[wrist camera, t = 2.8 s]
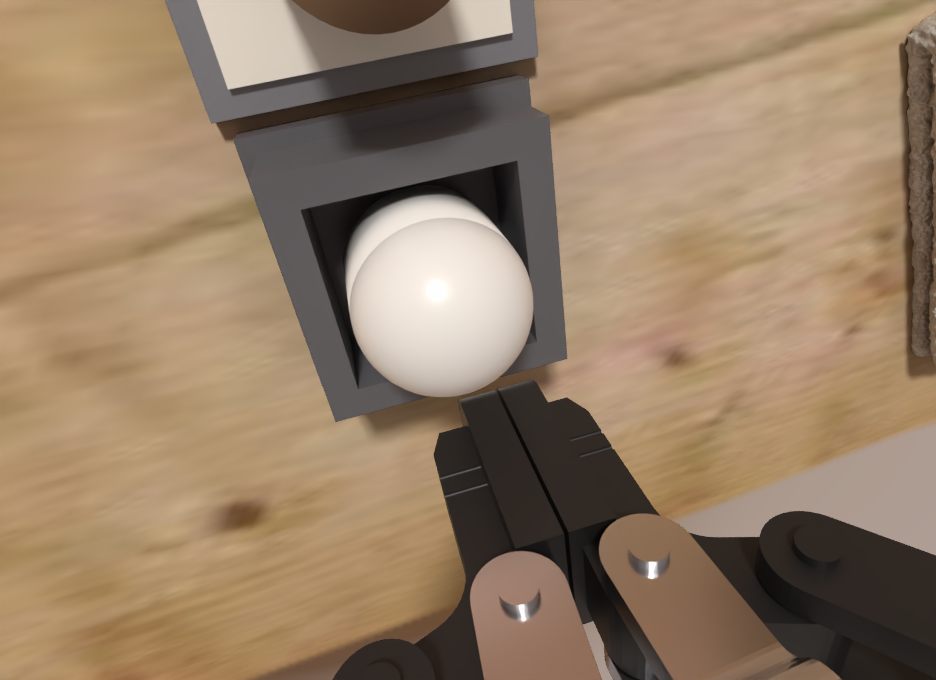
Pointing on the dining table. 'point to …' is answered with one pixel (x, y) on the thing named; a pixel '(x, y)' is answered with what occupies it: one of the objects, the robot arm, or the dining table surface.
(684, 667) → the robot arm
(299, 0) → the brown cylinder
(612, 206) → the dining table surface
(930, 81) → the washcloth
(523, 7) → the game board
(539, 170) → the button base
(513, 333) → the dome
